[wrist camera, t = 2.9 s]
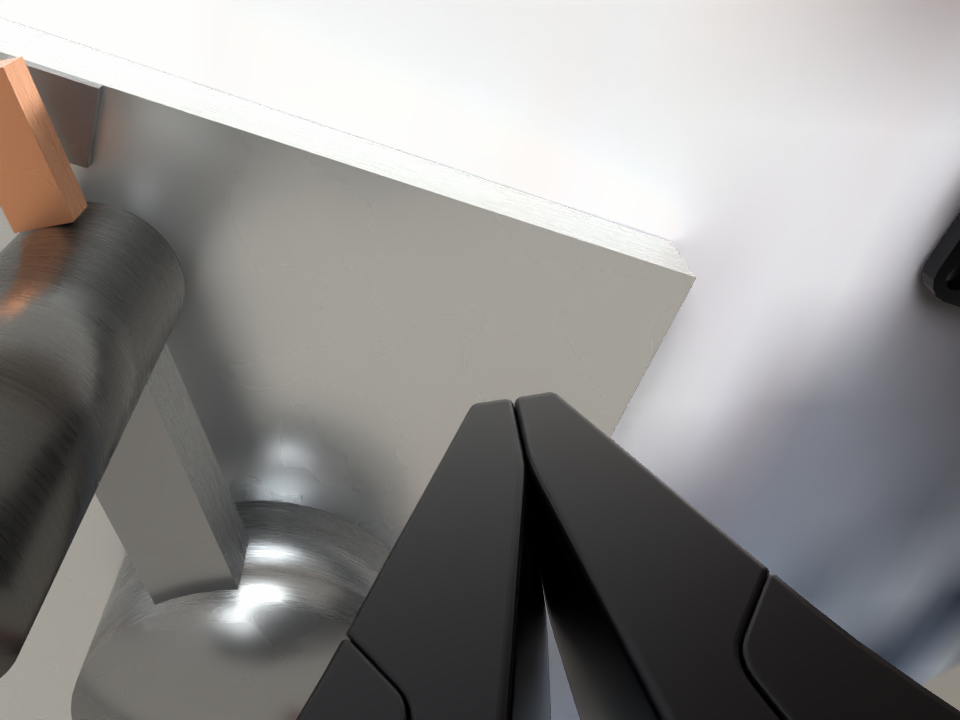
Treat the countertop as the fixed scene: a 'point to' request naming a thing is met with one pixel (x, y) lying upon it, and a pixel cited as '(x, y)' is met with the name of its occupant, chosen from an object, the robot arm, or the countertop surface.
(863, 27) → the countertop surface
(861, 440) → the countertop surface
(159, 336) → the capstan
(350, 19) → the countertop surface
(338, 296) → the level stand
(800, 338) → the countertop surface
